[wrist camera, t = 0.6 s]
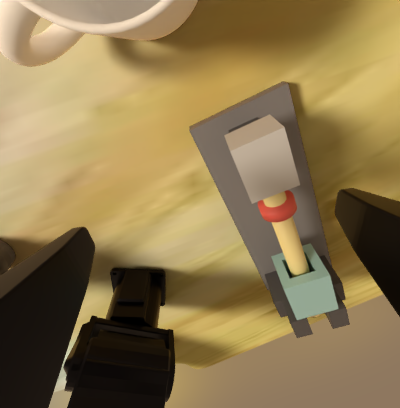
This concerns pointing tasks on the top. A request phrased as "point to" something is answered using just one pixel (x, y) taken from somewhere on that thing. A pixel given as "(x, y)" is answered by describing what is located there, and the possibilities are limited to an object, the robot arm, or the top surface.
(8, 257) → the beverage cup
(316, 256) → the sleeve
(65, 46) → the mug
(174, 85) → the top surface
